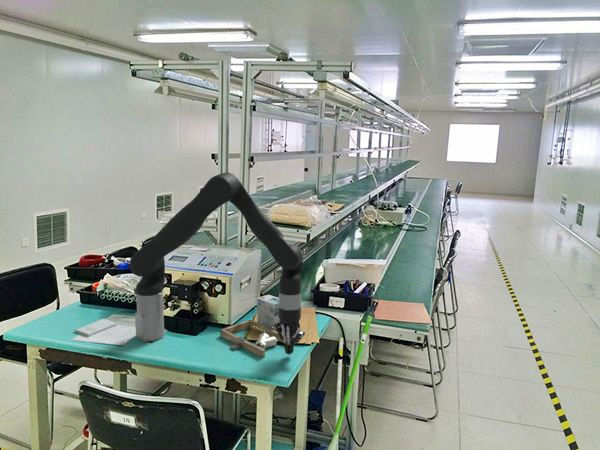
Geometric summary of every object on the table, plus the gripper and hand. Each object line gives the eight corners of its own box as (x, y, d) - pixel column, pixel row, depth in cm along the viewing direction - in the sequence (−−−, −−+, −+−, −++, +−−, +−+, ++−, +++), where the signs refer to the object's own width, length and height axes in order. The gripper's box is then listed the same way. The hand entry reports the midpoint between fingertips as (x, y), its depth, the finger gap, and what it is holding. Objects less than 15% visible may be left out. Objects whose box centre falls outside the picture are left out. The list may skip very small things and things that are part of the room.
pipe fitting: (277, 344, 170) (259, 341, 170) (278, 334, 169) (260, 331, 170) (273, 354, 162) (254, 351, 162) (274, 344, 161) (255, 341, 162)
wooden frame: (262, 357, 158) (262, 350, 157) (220, 335, 174) (220, 329, 174) (292, 345, 168) (292, 338, 167) (250, 325, 184) (250, 319, 184)
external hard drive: (117, 326, 183) (89, 338, 172) (103, 322, 186) (75, 333, 176) (116, 322, 182) (88, 334, 172) (103, 318, 186) (74, 329, 176)
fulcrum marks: (234, 350, 163) (234, 343, 162) (229, 348, 165) (229, 340, 164) (280, 333, 178) (280, 326, 177) (274, 330, 180) (274, 324, 179)
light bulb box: (286, 326, 184) (287, 300, 182) (274, 331, 180) (274, 304, 178) (269, 318, 192) (269, 293, 190) (256, 323, 187) (256, 297, 185)
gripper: (268, 302, 157) (267, 350, 161) (295, 313, 148) (294, 363, 152) (284, 297, 163) (283, 343, 166) (311, 307, 154) (310, 356, 157)
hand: (289, 353), depth 159 cm, fingers closed
